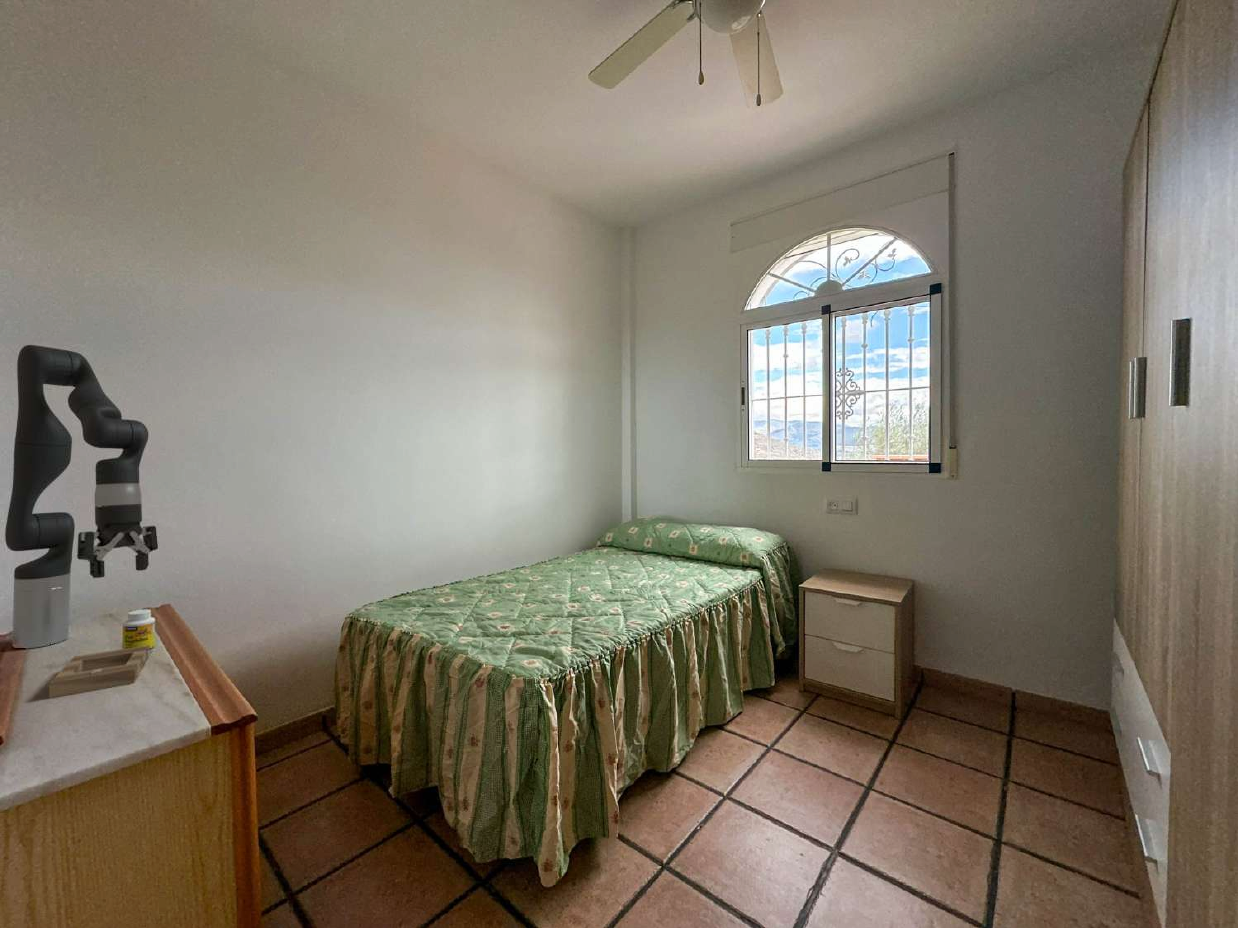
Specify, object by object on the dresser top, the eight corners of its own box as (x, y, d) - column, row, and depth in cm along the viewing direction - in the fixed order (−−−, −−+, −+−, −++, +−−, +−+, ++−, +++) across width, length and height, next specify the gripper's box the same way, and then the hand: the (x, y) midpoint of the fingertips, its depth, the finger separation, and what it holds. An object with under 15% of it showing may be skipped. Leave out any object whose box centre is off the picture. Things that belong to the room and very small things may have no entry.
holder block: (74, 669, 107) (74, 654, 107) (148, 657, 114) (149, 643, 114) (49, 698, 94) (49, 681, 94) (134, 682, 101) (134, 667, 101)
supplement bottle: (118, 659, 113) (119, 616, 113) (126, 651, 118) (127, 610, 118) (150, 654, 116) (152, 612, 116) (156, 647, 121) (158, 606, 121)
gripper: (139, 503, 118) (141, 568, 117) (65, 506, 104) (67, 581, 103) (165, 501, 117) (167, 567, 117) (95, 504, 103) (97, 579, 102)
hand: (120, 573), depth 110 cm, fingers open, 8 cm apart
